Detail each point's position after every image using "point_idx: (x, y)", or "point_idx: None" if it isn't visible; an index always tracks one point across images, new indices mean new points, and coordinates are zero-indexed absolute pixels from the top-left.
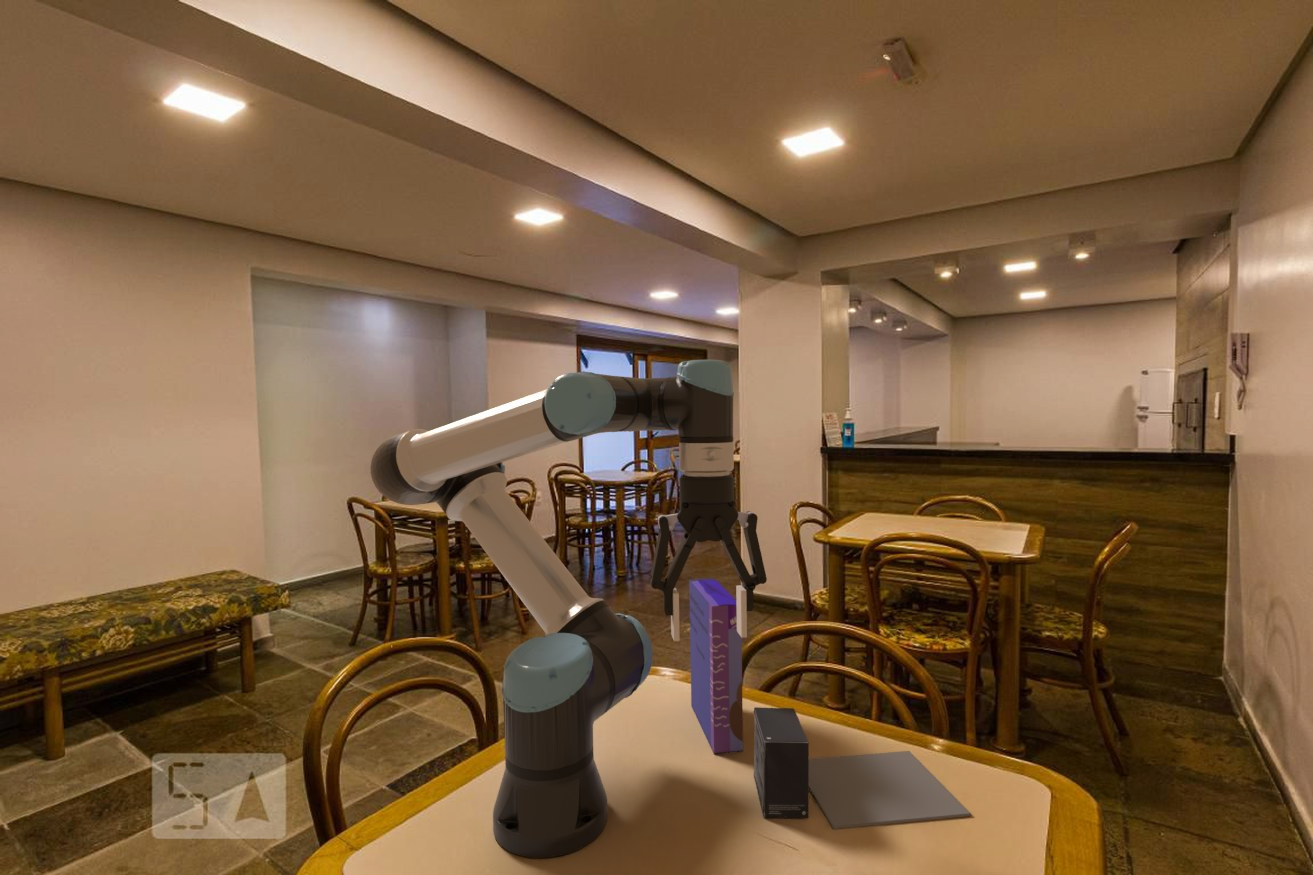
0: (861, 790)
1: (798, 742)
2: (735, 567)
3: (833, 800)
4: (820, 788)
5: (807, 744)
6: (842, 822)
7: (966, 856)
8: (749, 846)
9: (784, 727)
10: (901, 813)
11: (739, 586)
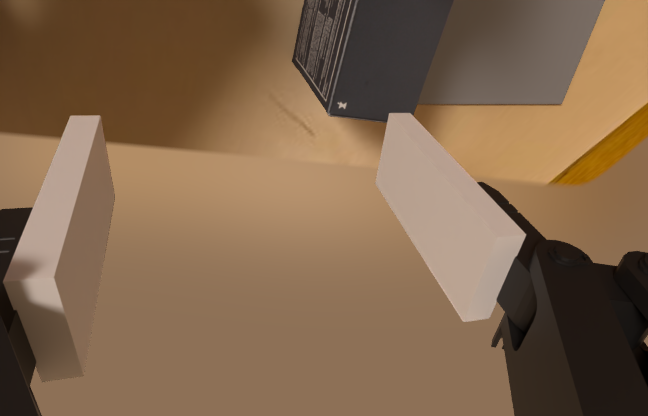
0: (474, 25)
1: None
2: (535, 402)
3: None
4: None
5: None
6: None
7: (491, 166)
8: (248, 121)
9: (394, 65)
10: (485, 91)
11: (500, 256)
